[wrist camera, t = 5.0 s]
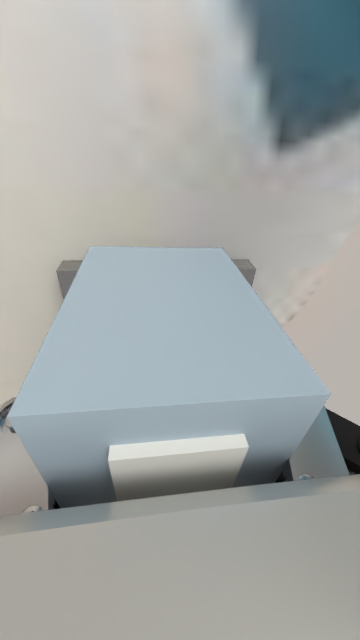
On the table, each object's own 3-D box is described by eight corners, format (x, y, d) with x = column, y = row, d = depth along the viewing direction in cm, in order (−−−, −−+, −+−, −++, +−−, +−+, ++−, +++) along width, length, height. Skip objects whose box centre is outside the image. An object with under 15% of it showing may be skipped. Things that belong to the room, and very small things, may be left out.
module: (222, 247, 10) (340, 406, 4) (202, 371, 14) (247, 540, 8) (90, 246, 9) (-2, 433, 3) (110, 376, 13) (85, 564, 7)
